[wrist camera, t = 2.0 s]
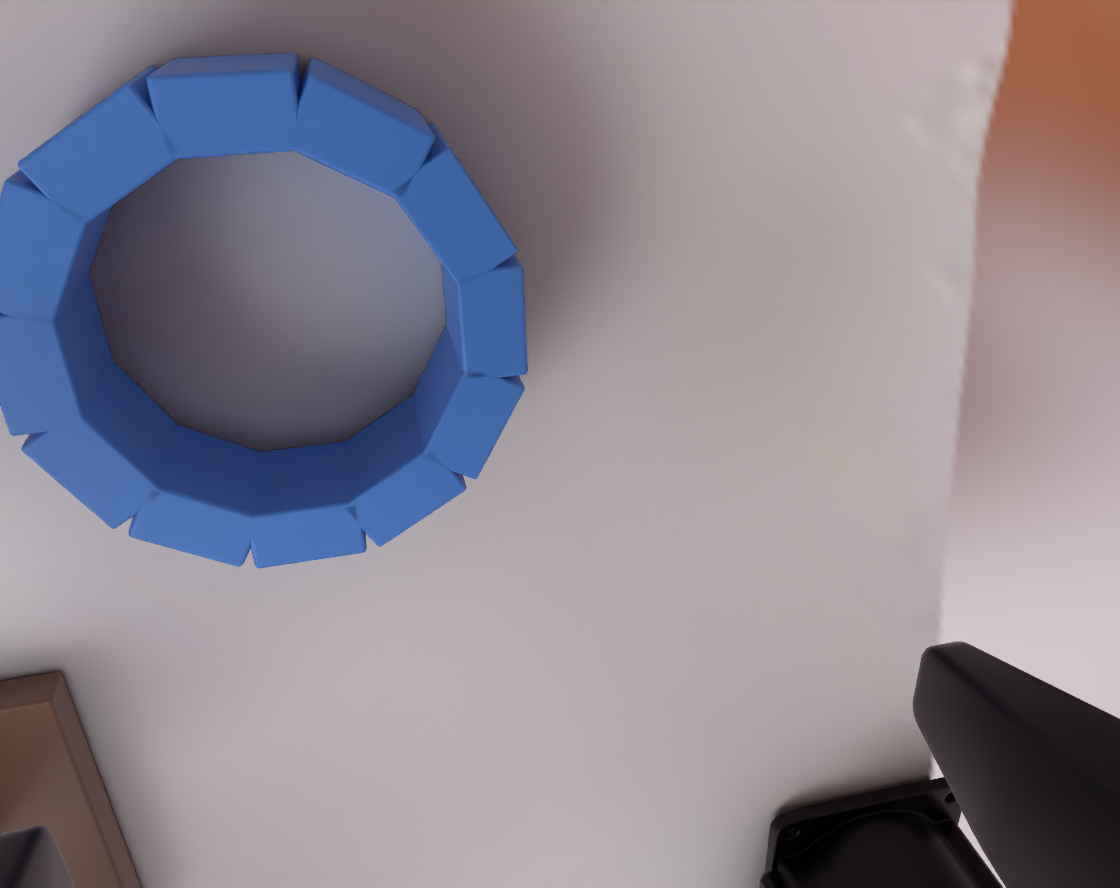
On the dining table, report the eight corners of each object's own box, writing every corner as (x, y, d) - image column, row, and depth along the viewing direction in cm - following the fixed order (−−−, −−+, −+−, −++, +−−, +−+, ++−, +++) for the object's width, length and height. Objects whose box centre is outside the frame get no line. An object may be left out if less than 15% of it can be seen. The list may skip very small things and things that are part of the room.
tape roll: (487, 42, 17) (513, 56, 14) (512, 466, 21) (536, 528, 19) (-49, 68, 15) (-113, 89, 13) (95, 523, 19) (66, 598, 17)
